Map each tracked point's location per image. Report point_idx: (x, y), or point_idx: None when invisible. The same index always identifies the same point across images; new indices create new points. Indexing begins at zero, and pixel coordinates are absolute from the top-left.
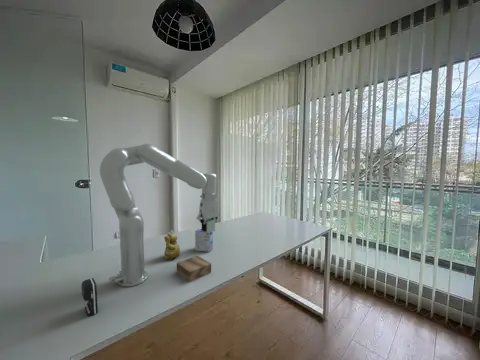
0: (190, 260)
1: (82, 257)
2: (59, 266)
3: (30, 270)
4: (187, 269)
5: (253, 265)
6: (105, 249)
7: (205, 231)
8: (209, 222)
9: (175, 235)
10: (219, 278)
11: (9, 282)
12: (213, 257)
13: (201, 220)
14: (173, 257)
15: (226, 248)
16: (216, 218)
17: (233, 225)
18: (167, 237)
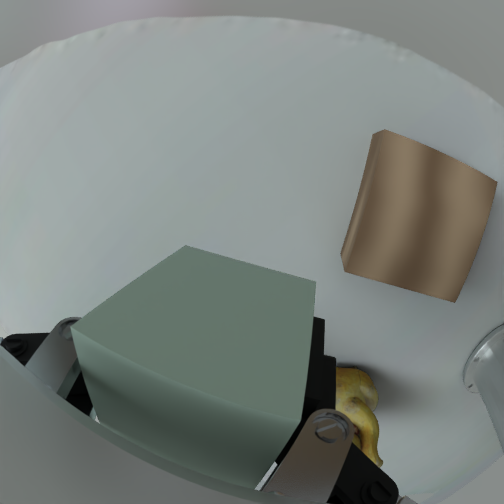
0: (413, 263)
1: (410, 485)
2: (449, 474)
3: (462, 478)
4: (486, 210)
5: (191, 19)
6: None
7: (318, 318)
8: (243, 378)
9: None
10: (389, 71)
11: (494, 461)
12: (233, 225)
13: (387, 497)
14: (359, 370)
15: (122, 232)
16: (28, 340)
17: (20, 320)
18: (377, 461)
